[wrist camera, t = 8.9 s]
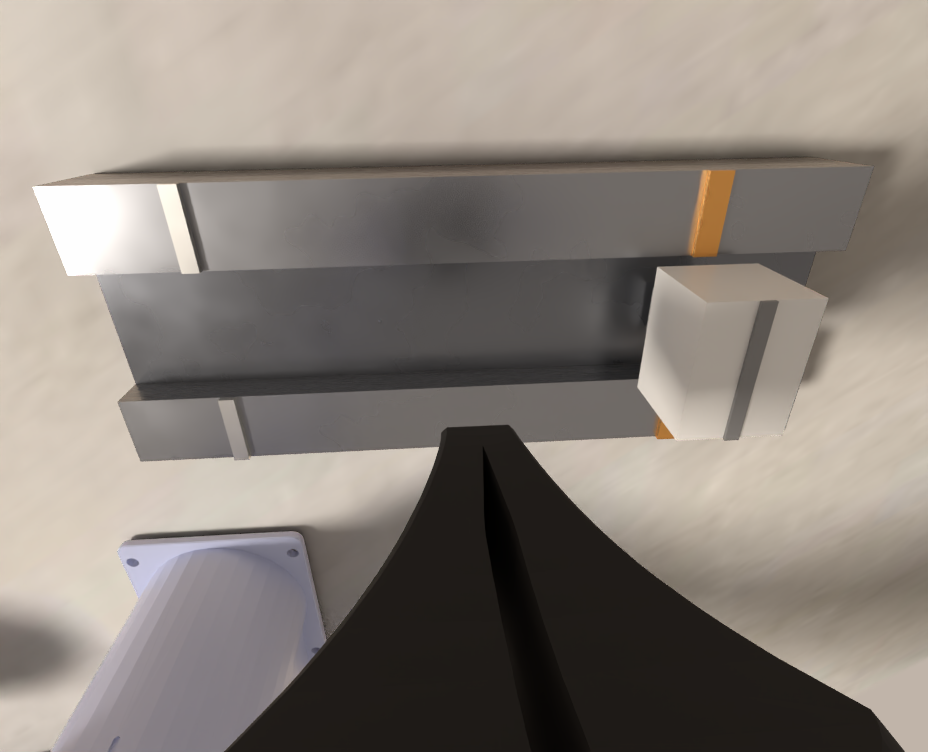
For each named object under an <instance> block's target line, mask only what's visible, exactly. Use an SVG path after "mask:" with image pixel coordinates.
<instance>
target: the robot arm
mask: <svg viewBox="0 0 928 752" xmlns="http://www.w3.org/2000/svg"><path fill="white" fill-rule="evenodd" d="M291 549H295V550H297V551H294V550H291ZM117 552H118V556H119V558H120V560H121V562H122V564H123V566H124V568H125V570H126V573H127V575H128V577H129V579H130V581H131V583H132V585H133V587H134V590H135V592H136V594H137V596H138V598H139V600H138V601H137V603H136V605H135V607H134V608H133V610H132V612H131V613H130V615H129V617H128V619H127V620H126V622H125V624H124V625H123V627H122V629H121V631H120V632H119V634H118V636H117V638H116V639H115V641H114V643H113V644H112V646H111V648H110V650H109V651H108V653H107V655H106V656H105V658H104V660H103V662H102V663H101V665H100V667H99V669H98V670H97V672H96V674H95V675H94V677H93V679H92V681H91V682H90V684H89V686H88V687H87V689H86V691H85V693H84V694H83V696H82V698H81V700H80V701H79V703H78V705H77V706H76V708H75V710H74V712H73V713H72V715H71V717H70V718H69V720H68V722H67V724H66V725H65V727H64V729H63V731H62V732H61V734H60V736H59V737H58V739H57V741H56V743H55V744H54V746H53V748H52V750H51V751H50V752H904V750H903V749H902V747H901V746H900V745H899V744H898V742H897V741H896V740H895V739H894V737H893V736H892V735H891V734H890V733H889V731H888V730H887V729H886V728H885V726H884V725H883V724H882V723H881V722H880V720H879V719H878V718H877V717H876V716H875V714H874V713H873V712H872V710H871V709H869V708H867V707H865V706H863V705H861V704H860V703H858V702H856V701H854V700H853V699H851V698H849V697H847V696H845V695H844V694H842V693H840V692H838V691H836V690H835V689H833V688H831V687H829V686H827V685H825V684H824V683H822V682H820V681H818V680H816V679H815V678H813V677H811V676H809V675H807V674H806V673H804V672H802V671H800V670H798V669H797V668H795V667H793V666H791V665H789V664H788V663H786V662H784V661H782V660H780V659H779V658H777V657H775V656H774V655H772V654H770V653H769V652H767V651H765V650H764V649H762V648H760V647H759V646H757V645H756V644H754V643H752V642H751V641H749V640H748V639H746V638H744V637H743V636H741V635H740V634H738V633H736V632H735V631H733V630H732V629H730V628H728V627H727V626H725V625H724V624H722V623H721V622H719V621H718V620H716V619H715V618H713V617H712V616H710V615H709V614H707V613H706V612H704V611H703V610H701V609H700V608H698V607H697V606H695V605H694V604H693V603H691V602H690V601H689V600H687V599H686V598H684V597H683V596H682V595H680V594H679V593H677V592H676V591H675V590H673V589H672V588H670V587H669V586H668V585H666V584H665V583H664V582H662V581H661V580H659V579H658V578H657V577H655V576H654V575H653V574H651V573H650V572H649V571H648V570H646V569H645V568H644V567H642V566H641V565H640V564H639V563H637V562H636V561H635V560H634V559H633V558H632V557H630V556H629V555H628V554H627V553H626V552H625V551H623V550H622V549H621V548H620V547H619V546H618V545H616V544H615V543H614V542H613V541H612V540H611V539H610V538H609V537H608V536H606V535H605V534H604V533H603V532H602V531H601V530H600V529H599V528H598V527H597V526H596V525H595V524H594V523H593V522H592V521H591V520H590V519H589V518H588V517H587V516H586V515H585V514H584V513H583V512H582V511H581V510H580V509H579V508H578V507H577V506H576V505H575V504H574V503H573V502H572V501H571V500H570V499H569V498H568V496H567V495H566V494H565V493H564V492H563V491H562V490H561V489H560V487H559V486H558V485H557V484H556V483H555V482H554V481H553V480H552V478H551V477H550V476H549V475H548V474H547V473H546V471H545V470H544V469H543V468H542V467H541V465H540V464H539V463H538V462H537V460H536V459H535V458H534V457H533V455H532V454H531V453H530V451H529V450H528V449H527V447H526V446H525V445H524V443H523V442H522V441H521V439H520V438H519V436H518V435H517V434H516V432H515V431H514V429H513V428H512V427H511V426H509V425H487V426H465V427H447V428H446V429H444V430H443V431H442V432H441V441H440V446H439V450H438V453H437V457H436V460H435V463H434V466H433V469H432V471H431V474H430V476H429V478H428V481H427V483H426V486H425V488H424V491H423V493H422V495H421V497H420V500H419V502H418V504H417V506H416V508H415V510H414V512H413V513H412V515H411V517H410V519H409V521H408V523H407V525H406V527H405V529H404V531H403V533H402V535H401V536H400V538H399V540H398V541H397V543H396V545H395V547H394V548H393V550H392V552H391V553H390V555H389V556H388V558H387V560H386V561H385V563H384V564H383V566H382V567H381V569H380V570H379V572H378V574H377V575H376V577H375V578H374V579H373V581H372V582H371V584H370V585H369V586H368V588H367V589H366V591H365V592H364V593H363V595H362V596H361V598H360V599H359V600H358V602H357V603H356V605H355V606H354V607H353V609H352V610H351V611H350V613H349V614H348V615H347V617H346V618H345V619H344V620H343V622H342V623H341V624H340V626H339V627H338V628H337V629H336V630H335V632H334V633H333V634H332V635H331V636H330V638H329V639H328V640H326V635H325V631H324V626H323V622H322V617H321V613H320V608H319V604H318V599H317V595H316V591H315V586H314V582H313V577H312V573H311V568H310V564H309V559H308V555H307V550H306V546H305V542H304V538H303V536H302V535H301V534H300V533H298V532H295V531H284V532H267V533H249V534H231V535H214V536H196V537H178V538H160V539H143V540H128V541H125V542H123V543H122V544H121V546H120V547H119V549H118V551H117Z"/></svg>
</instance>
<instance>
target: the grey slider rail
mask: <svg viewBox="0 0 928 752" xmlns="http://www.w3.org/2000/svg"><path fill="white" fill-rule="evenodd" d="M873 168H874V166H870V165H863V164H856V163H849V162H843V161H836V160H829V159H822V158H815V157H789V158H747V159H704V160H661V161H619V162H576V163H533V164H491V165H448V166H405V167H362V168H320V169H277V170H234V171H192V172H149V173H106V174H89V175H84V176H80V177H75V178H71V179H66V180H61V181H57V182H52V183H48V184H43V185H38V186H34V187H33V189H34V191H35V194H36V196H37V199H38V201H39V204H40V206H41V209H42V211H43V214H44V217H45V219H46V222H47V224H48V227H49V229H50V232H51V234H52V237H53V239H54V242H55V245H56V247H57V250H58V252H59V255H60V257H61V260H62V262H63V265H64V267H65V270H66V273H67V275H68V276H75V275H96V276H97V279H98V281H99V284H100V287H101V290H102V292H103V295H104V298H105V301H106V303H107V306H108V309H109V312H110V314H111V317H112V320H113V322H114V325H115V328H116V331H117V333H118V336H119V339H120V342H121V344H122V347H123V350H124V353H125V355H126V358H127V361H128V363H129V366H130V369H131V372H132V374H133V377H134V380H135V383H136V385H135V386H133V387H132V388H131V389H130V390H129V391H128V392H127V393H126V394H125V395H124V396H123V397H122V398H121V399H120V400H119V401H118V405H119V407H120V410H121V412H122V415H123V418H124V420H125V423H126V425H127V428H128V430H129V433H130V435H131V438H132V440H133V443H134V446H135V448H136V451H137V453H138V456H139V458H140V461H161V460H181V459H201V458H222V457H234V460H249V459H250V457H251V456H262V455H282V454H302V453H323V452H343V451H363V450H383V449H404V448H424V447H439V446H440V441H441V432H442V431H443V430H444V429H446V428H447V427H465V426H487V425H509V426H511V427H512V428H513V429H514V431H515V432H516V434H517V435H518V436H519V438H520V439H521V441H522V442H523V443H525V442H545V441H565V440H585V439H606V438H626V437H646V436H656V438H657V439H672V438H674V437H673V435H672V434H671V433H670V431H669V430H668V428H667V427H666V426H665V424H664V423H663V422H662V420H661V419H660V417H659V416H658V415H657V413H656V412H655V411H654V409H653V408H652V407H651V405H650V404H649V402H648V401H647V400H646V398H645V397H644V396H643V394H642V393H641V392H640V390H639V389H638V387H637V386H638V380H639V374H640V368H641V362H642V356H643V350H644V344H645V338H646V327H647V321H648V315H649V309H650V303H651V297H652V291H653V288H654V284H655V278H656V272H657V267H665V266H695V265H724V264H754V263H758V264H760V265H762V266H764V267H766V268H768V269H771V270H773V271H775V272H777V273H779V274H781V275H783V276H785V277H787V278H789V279H791V280H793V281H795V282H797V283H799V284H801V285H803V286H805V285H806V282H807V279H808V275H809V272H810V269H811V266H812V263H813V259H814V256H815V253H816V251H844V250H846V248H847V245H848V242H849V239H850V236H851V233H852V230H853V227H854V224H855V221H856V218H857V216H858V213H859V210H860V207H861V204H862V201H863V198H864V195H865V192H866V189H867V186H868V183H869V180H870V177H871V174H872V171H873ZM803 375H804V373H803ZM802 378H803V376H802ZM801 380H802V379H801ZM800 383H801V382H800ZM799 386H800V385H799ZM798 389H799V388H798ZM797 392H798V391H797ZM796 395H797V394H796ZM795 398H796V397H795ZM794 401H795V400H794ZM793 404H794V403H793ZM792 407H793V406H792ZM791 410H792V409H791ZM790 413H791V411H790ZM789 416H790V414H789ZM788 419H789V417H788ZM787 422H788V420H787ZM786 425H787V423H786ZM785 428H786V426H785ZM784 430H785V429H784Z"/></svg>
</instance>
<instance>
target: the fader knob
mask: <svg viewBox="0 0 928 752" xmlns="http://www.w3.org/2000/svg"><path fill="white" fill-rule="evenodd" d="M828 299H829V298H828V297H825V296H823V295H821V294H819V293H817V292H815V291H813V290H811V289H809V288H807V287H805V286H803V285H801V284H799V283H797V282H795V281H793V280H791V279H789V278H787V277H785V276H783V275H781V274H779V273H777V272H775V271H773V270H771V269H768V268H766V267H764V266H762V265H760V264H758V263H754V264H724V265H695V266H665V267H657V272H656V278H655V284H654V288H653V291H652V297H651V303H650V309H649V315H648V321H647V327H646V338H645V344H644V350H643V356H642V362H641V368H640V374H639V380H638V386H637V387H638V389H639V390H640V392H641V393H642V394H643V396H644V397H645V398H646V400H647V401H648V402H649V404H650V405H651V407H652V408H653V409H654V411H655V412H656V413H657V415H658V416H659V417H660V419H661V420H662V422H663V423H664V424H665V426H666V427H667V428H668V430H669V431H670V433H671V434H672V435H673V437H674V438H675V439H676V441H683V440H703V439H724V441H727V440H739V438H743V437H763V436H782V435H783V432H784V429H785V426H786V423H787V420H788V417H789V414H790V411H791V409H792V406H793V403H794V400H795V397H796V394H797V391H798V388H799V385H800V382H801V379H802V376H803V373H804V370H805V367H806V364H807V361H808V358H809V355H810V352H811V350H812V347H813V344H814V341H815V338H816V335H817V332H818V329H819V326H820V323H821V320H822V317H823V314H824V311H825V308H826V305H827V302H828Z"/></svg>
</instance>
